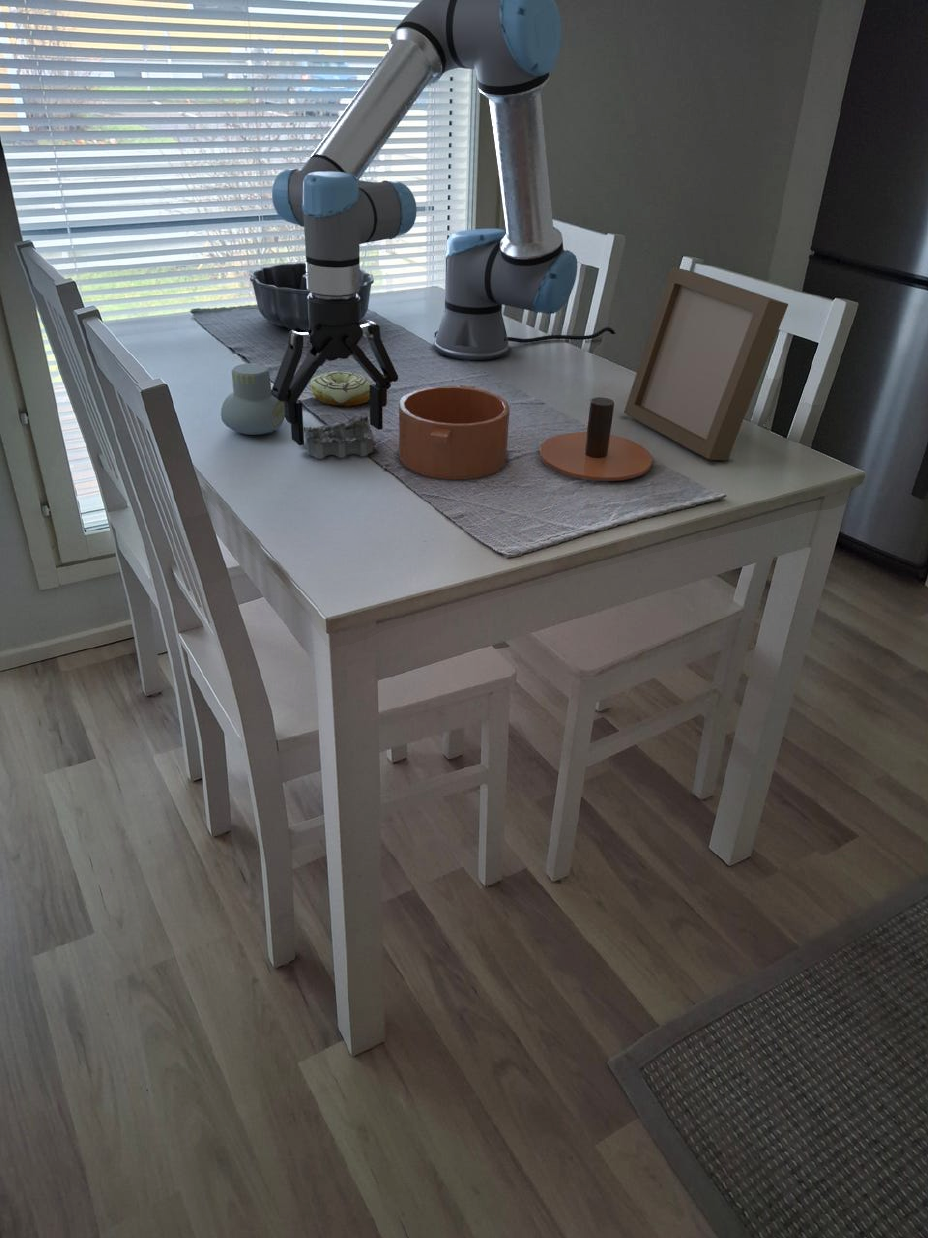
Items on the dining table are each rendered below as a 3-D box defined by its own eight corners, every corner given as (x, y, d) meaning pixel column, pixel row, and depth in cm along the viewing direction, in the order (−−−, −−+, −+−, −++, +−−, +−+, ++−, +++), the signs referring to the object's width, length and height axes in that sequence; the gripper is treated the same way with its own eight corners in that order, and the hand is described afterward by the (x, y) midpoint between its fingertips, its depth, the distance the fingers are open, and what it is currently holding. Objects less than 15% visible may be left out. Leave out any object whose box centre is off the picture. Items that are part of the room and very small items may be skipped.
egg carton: (371, 439, 146) (370, 415, 144) (375, 458, 140) (375, 433, 138) (304, 441, 145) (303, 416, 142) (305, 460, 139) (304, 434, 136)
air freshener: (267, 444, 143) (262, 382, 137) (218, 438, 144) (211, 377, 138) (291, 419, 152) (287, 360, 146) (244, 414, 153) (238, 355, 147)
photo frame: (707, 465, 143) (740, 303, 129) (622, 418, 159) (644, 268, 145) (775, 449, 150) (813, 294, 136) (687, 406, 165) (714, 262, 151)
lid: (652, 445, 149) (661, 388, 144) (650, 490, 134) (660, 428, 129) (545, 433, 151) (551, 377, 146) (532, 476, 137) (538, 415, 131)
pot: (514, 436, 150) (518, 386, 145) (493, 492, 132) (497, 437, 127) (416, 425, 152) (417, 376, 147) (382, 479, 134) (382, 425, 129)
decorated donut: (345, 413, 155) (344, 392, 153) (299, 399, 160) (298, 378, 158) (384, 397, 162) (383, 376, 160) (339, 383, 167) (338, 363, 165)
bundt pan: (329, 300, 216) (327, 256, 210) (398, 326, 200) (398, 279, 194) (230, 317, 200) (226, 270, 195) (298, 347, 184) (295, 296, 179)
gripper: (395, 279, 138) (394, 413, 149) (240, 295, 126) (252, 440, 137) (421, 290, 133) (418, 428, 144) (262, 308, 120) (273, 457, 132)
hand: (338, 434), depth 141 cm, fingers open, 13 cm apart
